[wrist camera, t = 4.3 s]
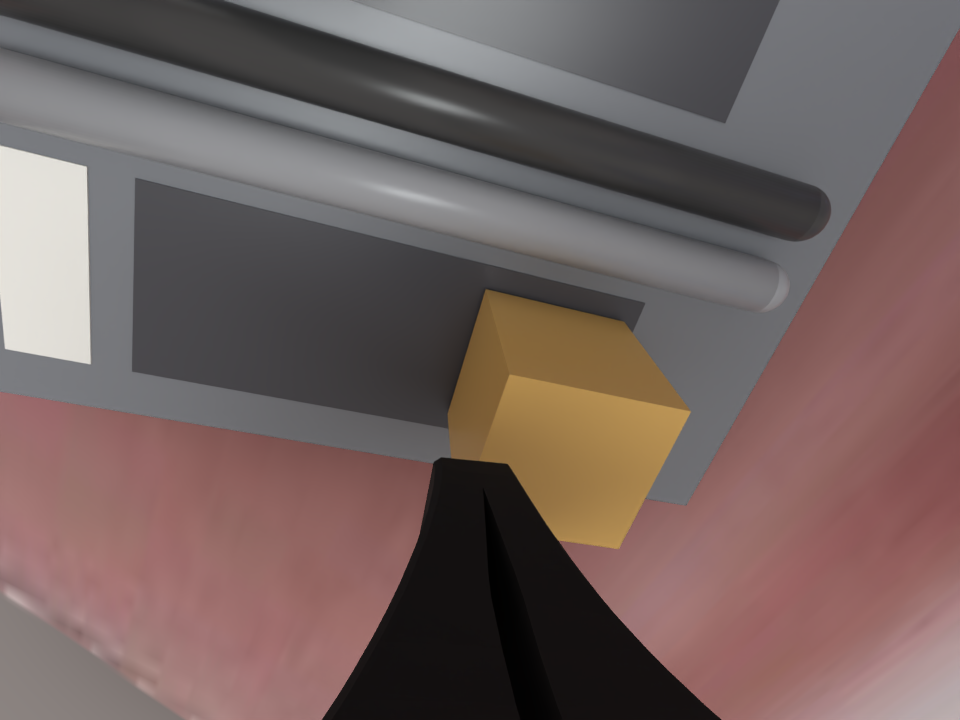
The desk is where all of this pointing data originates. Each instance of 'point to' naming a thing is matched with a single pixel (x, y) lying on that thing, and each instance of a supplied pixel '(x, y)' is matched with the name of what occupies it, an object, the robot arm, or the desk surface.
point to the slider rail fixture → (426, 195)
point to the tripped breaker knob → (565, 413)
